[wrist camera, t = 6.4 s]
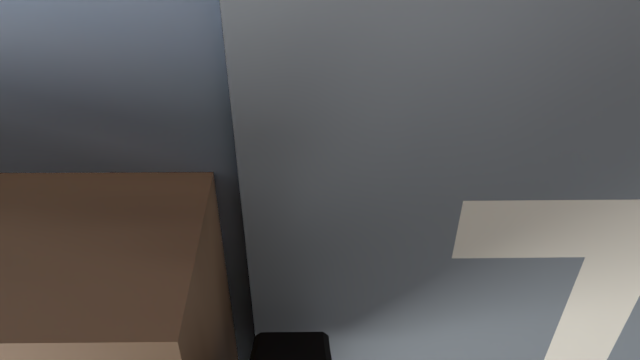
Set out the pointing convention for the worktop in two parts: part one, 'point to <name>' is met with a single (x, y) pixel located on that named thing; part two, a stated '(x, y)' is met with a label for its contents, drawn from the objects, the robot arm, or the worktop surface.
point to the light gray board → (441, 174)
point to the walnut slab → (113, 268)
